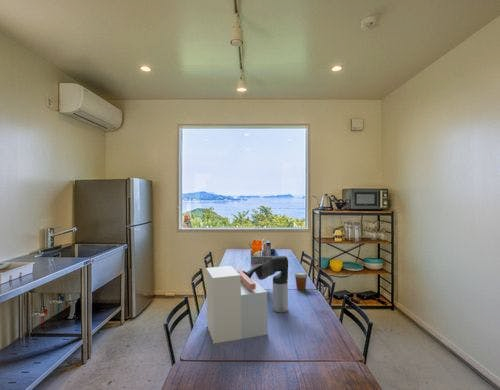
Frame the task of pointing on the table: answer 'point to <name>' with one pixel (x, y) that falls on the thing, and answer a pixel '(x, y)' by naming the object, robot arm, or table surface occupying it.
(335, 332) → the table surface
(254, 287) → the rod
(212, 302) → the riser
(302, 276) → the disposable coffee cup
